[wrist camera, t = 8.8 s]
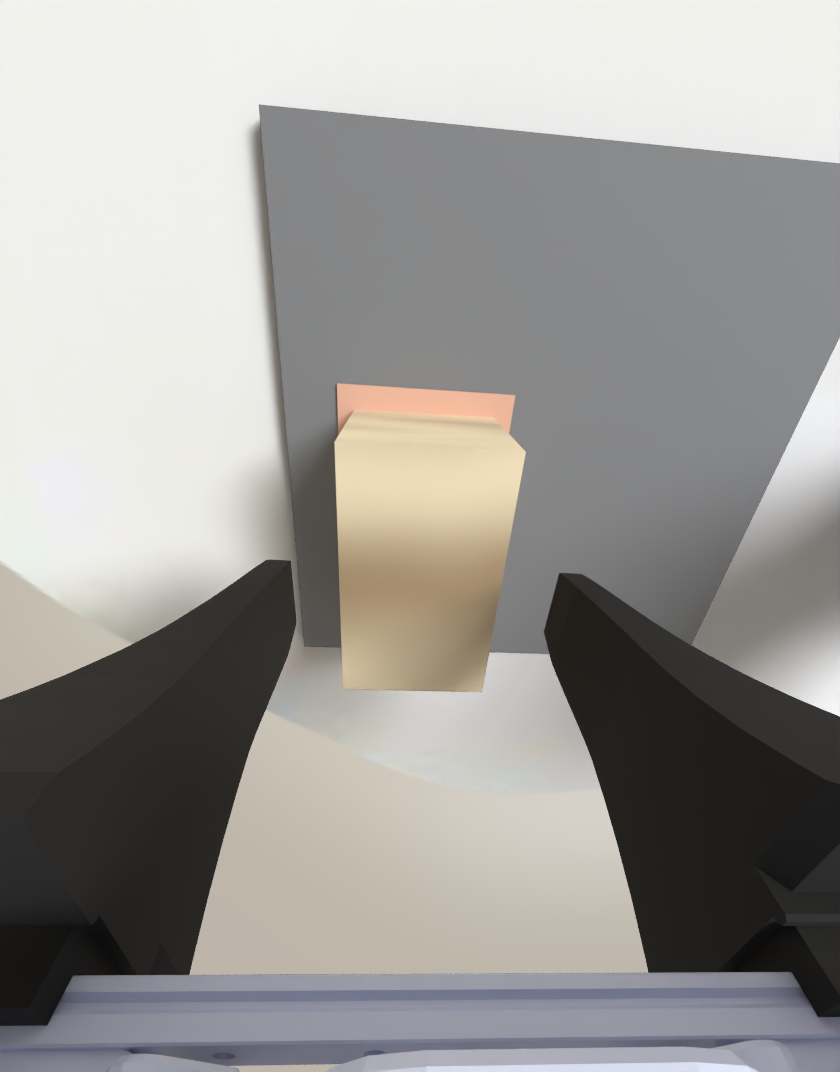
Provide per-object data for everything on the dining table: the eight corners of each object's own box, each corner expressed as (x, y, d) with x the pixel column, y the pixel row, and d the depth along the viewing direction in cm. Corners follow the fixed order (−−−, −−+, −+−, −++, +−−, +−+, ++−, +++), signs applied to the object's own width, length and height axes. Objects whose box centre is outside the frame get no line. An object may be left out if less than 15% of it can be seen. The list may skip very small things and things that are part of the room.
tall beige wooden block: (465, 614, 17) (481, 692, 13) (356, 611, 17) (343, 688, 13) (494, 417, 13) (525, 452, 10) (354, 409, 13) (334, 441, 9)
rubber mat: (899, 177, 11) (923, 170, 11) (678, 650, 19) (686, 659, 18) (265, 114, 10) (257, 102, 10) (306, 638, 18) (303, 647, 17)
